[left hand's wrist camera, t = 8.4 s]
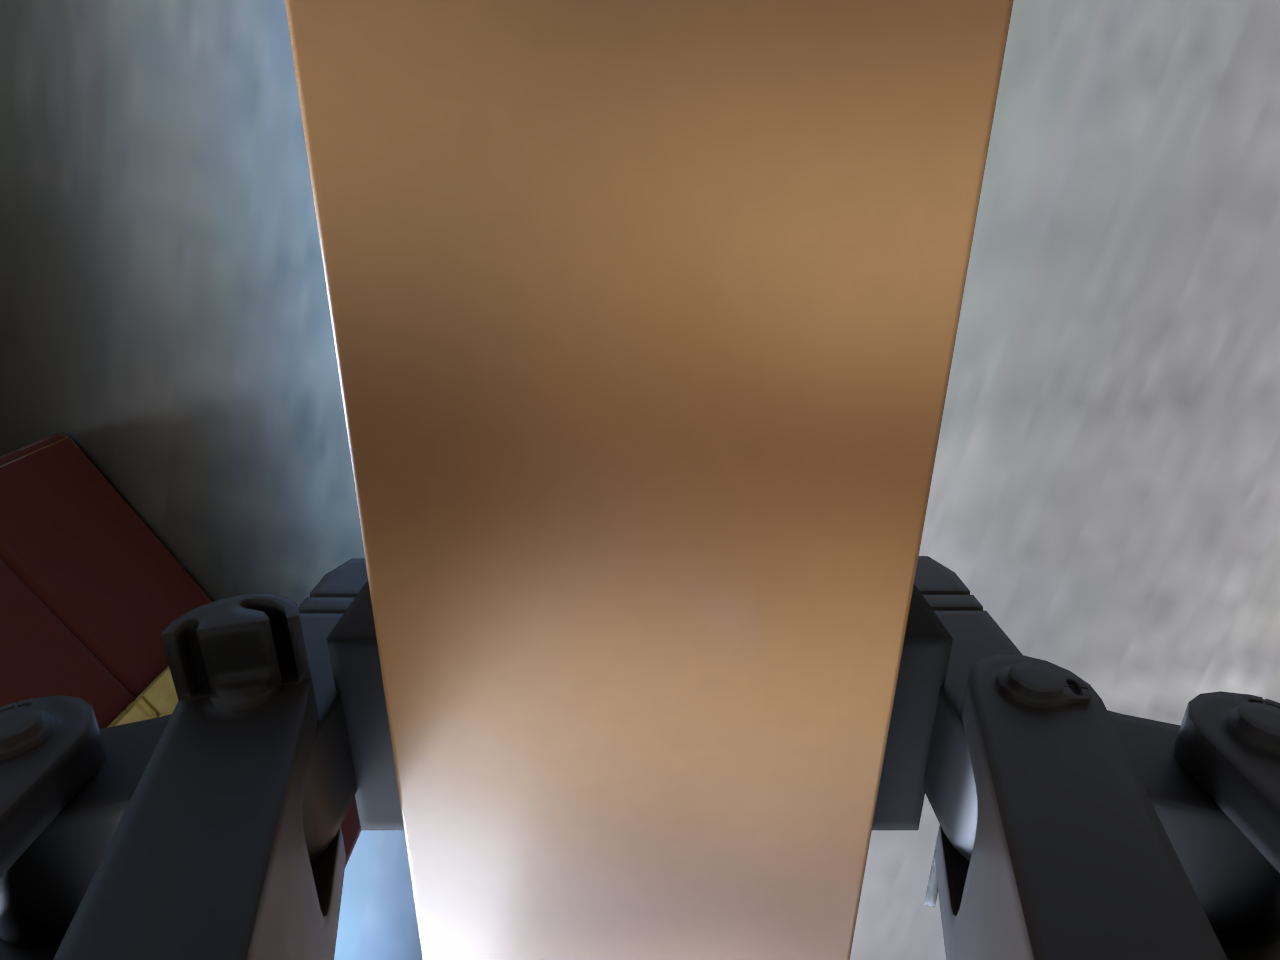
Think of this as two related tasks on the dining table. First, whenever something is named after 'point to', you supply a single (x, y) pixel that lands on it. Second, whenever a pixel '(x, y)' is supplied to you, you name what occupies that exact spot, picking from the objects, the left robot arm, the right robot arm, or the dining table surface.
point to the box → (88, 593)
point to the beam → (643, 438)
